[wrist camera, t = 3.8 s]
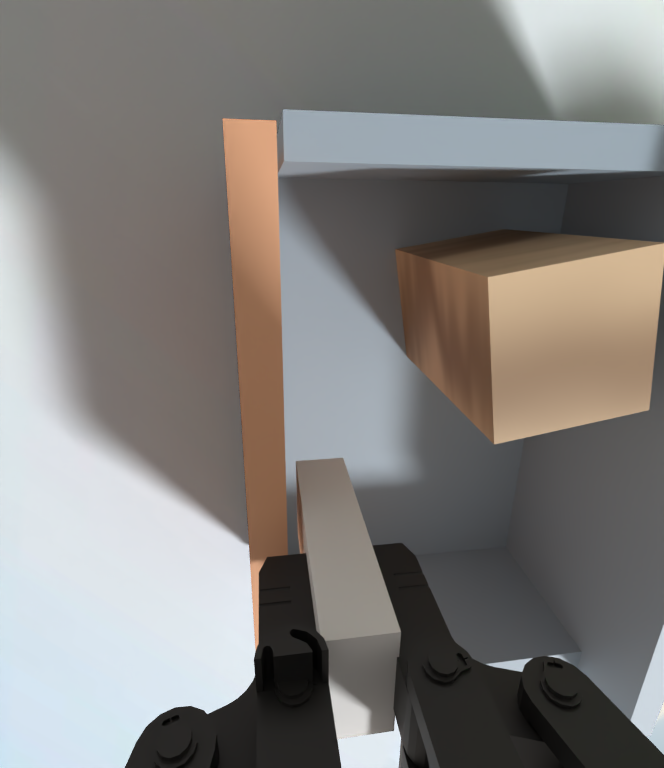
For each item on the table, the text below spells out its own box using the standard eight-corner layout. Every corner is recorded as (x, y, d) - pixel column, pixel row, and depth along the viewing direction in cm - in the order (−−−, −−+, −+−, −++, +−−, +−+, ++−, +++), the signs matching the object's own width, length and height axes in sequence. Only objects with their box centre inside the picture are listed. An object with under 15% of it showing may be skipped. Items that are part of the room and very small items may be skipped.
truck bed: (274, 148, 20) (289, 78, 9) (577, 157, 22) (884, 108, 11) (285, 565, 27) (302, 791, 17) (509, 544, 29) (650, 735, 19)
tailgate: (240, 166, 19) (217, 118, 9) (270, 167, 19) (281, 120, 9) (261, 567, 26) (261, 800, 16) (282, 565, 26) (297, 794, 16)
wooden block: (395, 249, 20) (487, 277, 12) (503, 228, 21) (665, 243, 12) (406, 356, 22) (494, 444, 14) (506, 335, 23) (648, 410, 14)
